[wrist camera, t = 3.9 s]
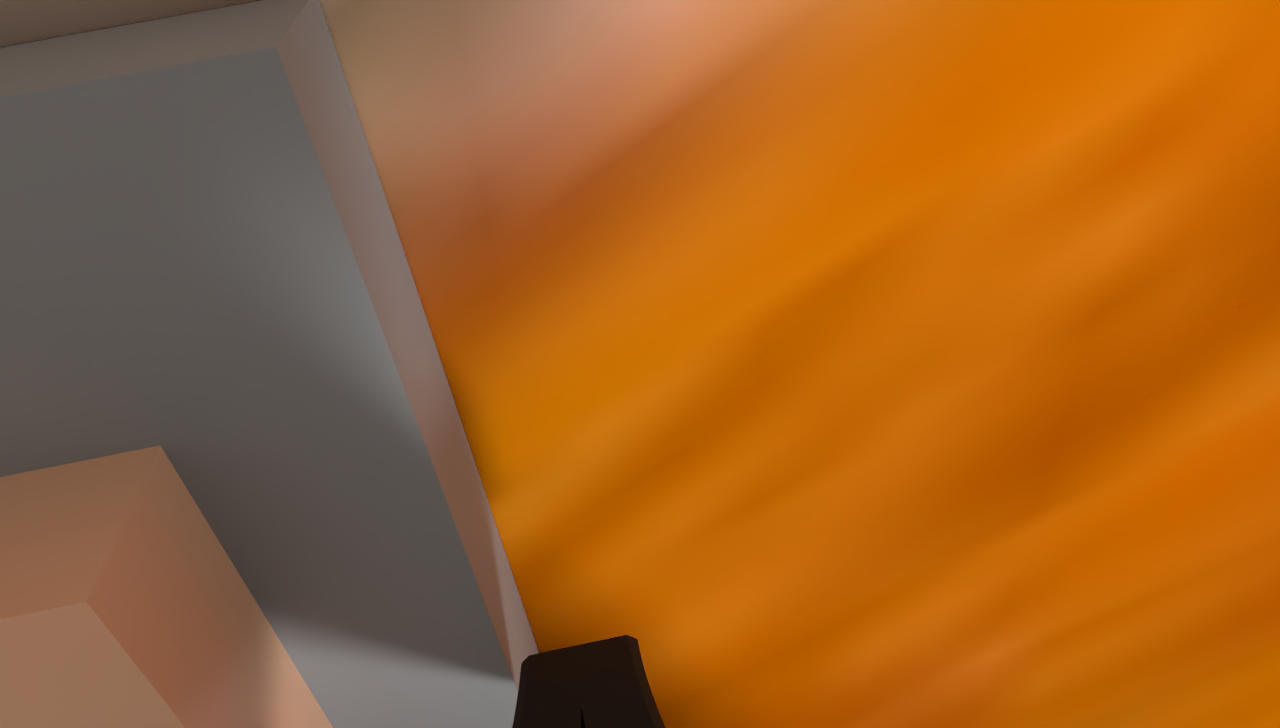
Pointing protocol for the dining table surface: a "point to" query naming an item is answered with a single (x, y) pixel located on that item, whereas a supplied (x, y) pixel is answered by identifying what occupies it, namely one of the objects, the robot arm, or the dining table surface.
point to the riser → (253, 346)
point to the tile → (131, 608)
